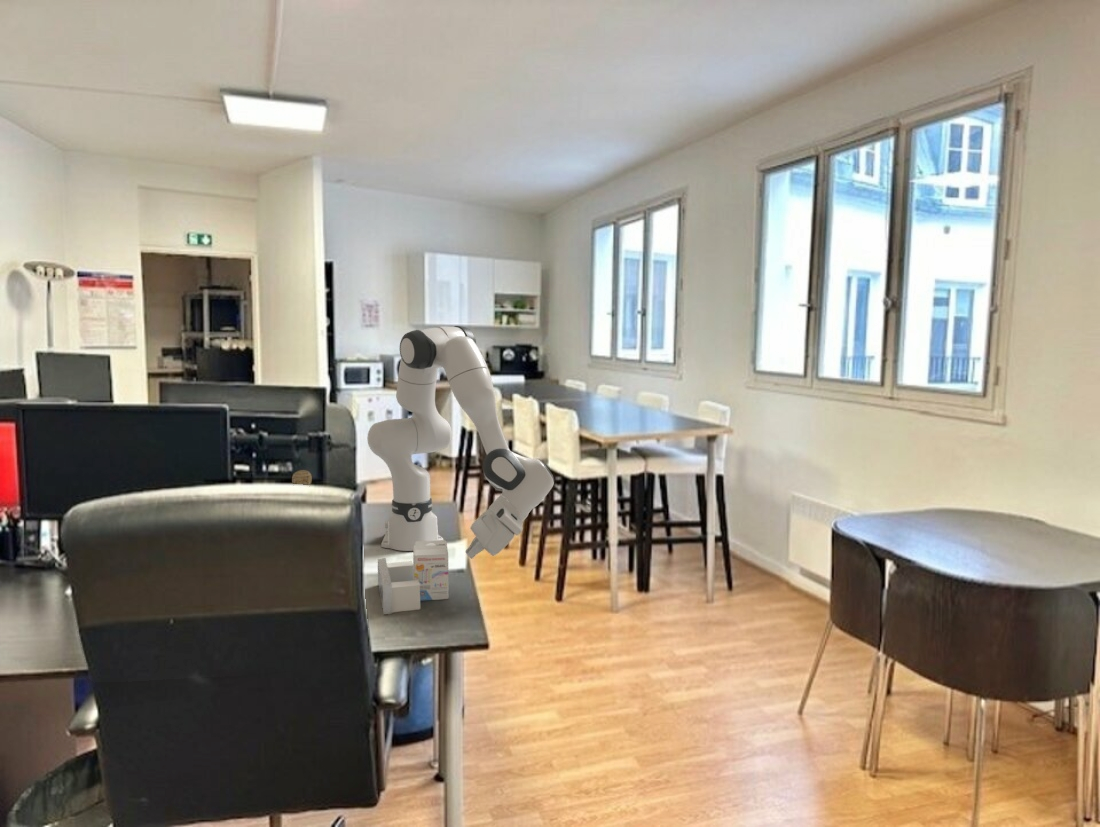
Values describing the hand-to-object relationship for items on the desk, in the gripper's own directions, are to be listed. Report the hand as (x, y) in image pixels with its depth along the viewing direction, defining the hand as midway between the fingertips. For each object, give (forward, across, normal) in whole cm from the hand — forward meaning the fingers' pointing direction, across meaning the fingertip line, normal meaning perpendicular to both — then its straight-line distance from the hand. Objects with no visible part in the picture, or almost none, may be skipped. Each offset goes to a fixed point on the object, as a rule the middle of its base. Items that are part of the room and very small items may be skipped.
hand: (468, 555), depth 182 cm
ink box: (+13, 0, 0) cm, 13 cm away
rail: (+21, 0, -8) cm, 23 cm away
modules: (+18, 0, -5) cm, 19 cm away
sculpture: (+34, -16, -22) cm, 44 cm away
